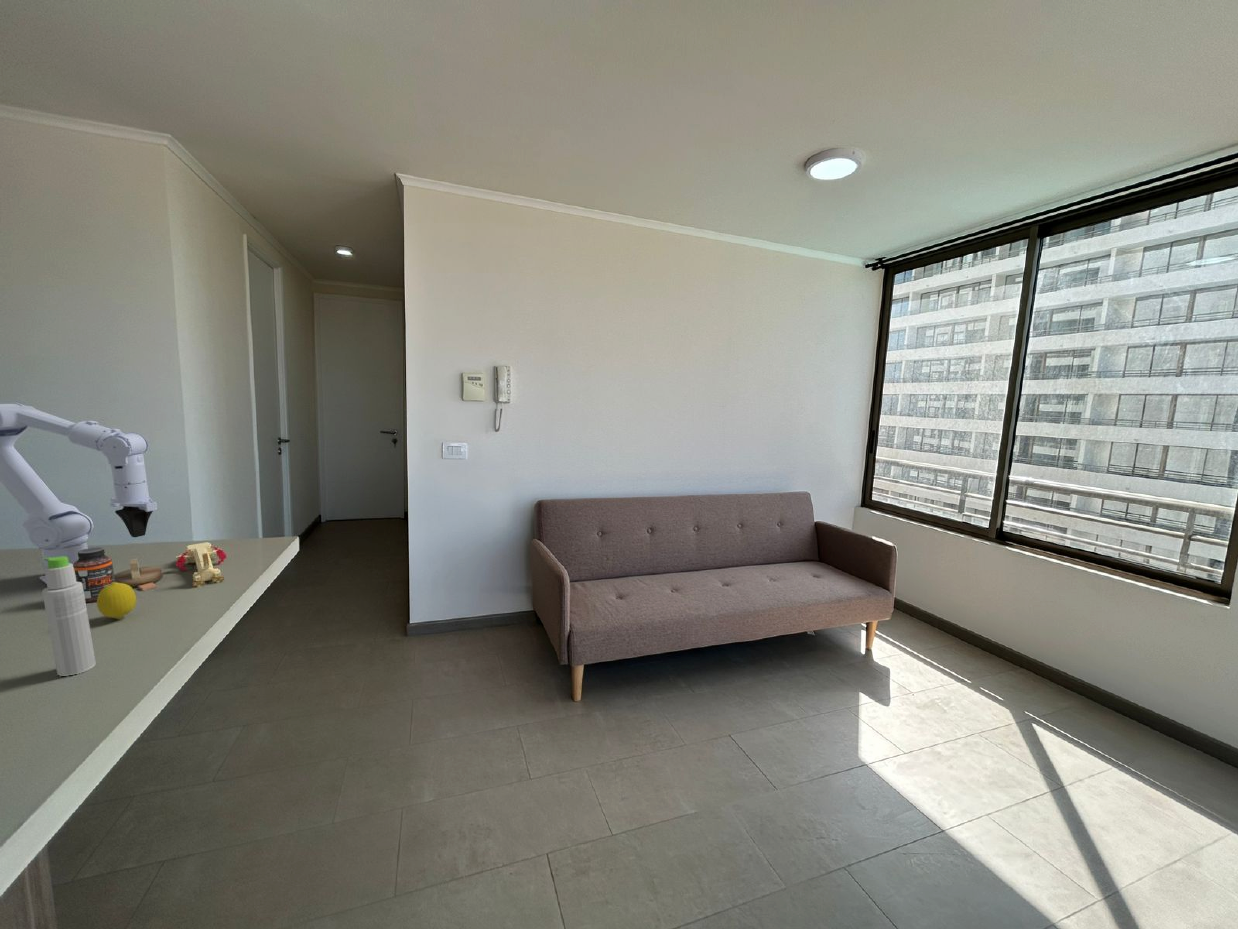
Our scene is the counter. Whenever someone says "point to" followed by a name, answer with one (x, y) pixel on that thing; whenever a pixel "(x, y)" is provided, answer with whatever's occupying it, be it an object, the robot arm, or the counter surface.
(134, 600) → the lemon
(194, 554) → the toy vehicle
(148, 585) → the salmon square tile
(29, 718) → the counter surface
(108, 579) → the supplement bottle
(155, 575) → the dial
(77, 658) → the bottle
